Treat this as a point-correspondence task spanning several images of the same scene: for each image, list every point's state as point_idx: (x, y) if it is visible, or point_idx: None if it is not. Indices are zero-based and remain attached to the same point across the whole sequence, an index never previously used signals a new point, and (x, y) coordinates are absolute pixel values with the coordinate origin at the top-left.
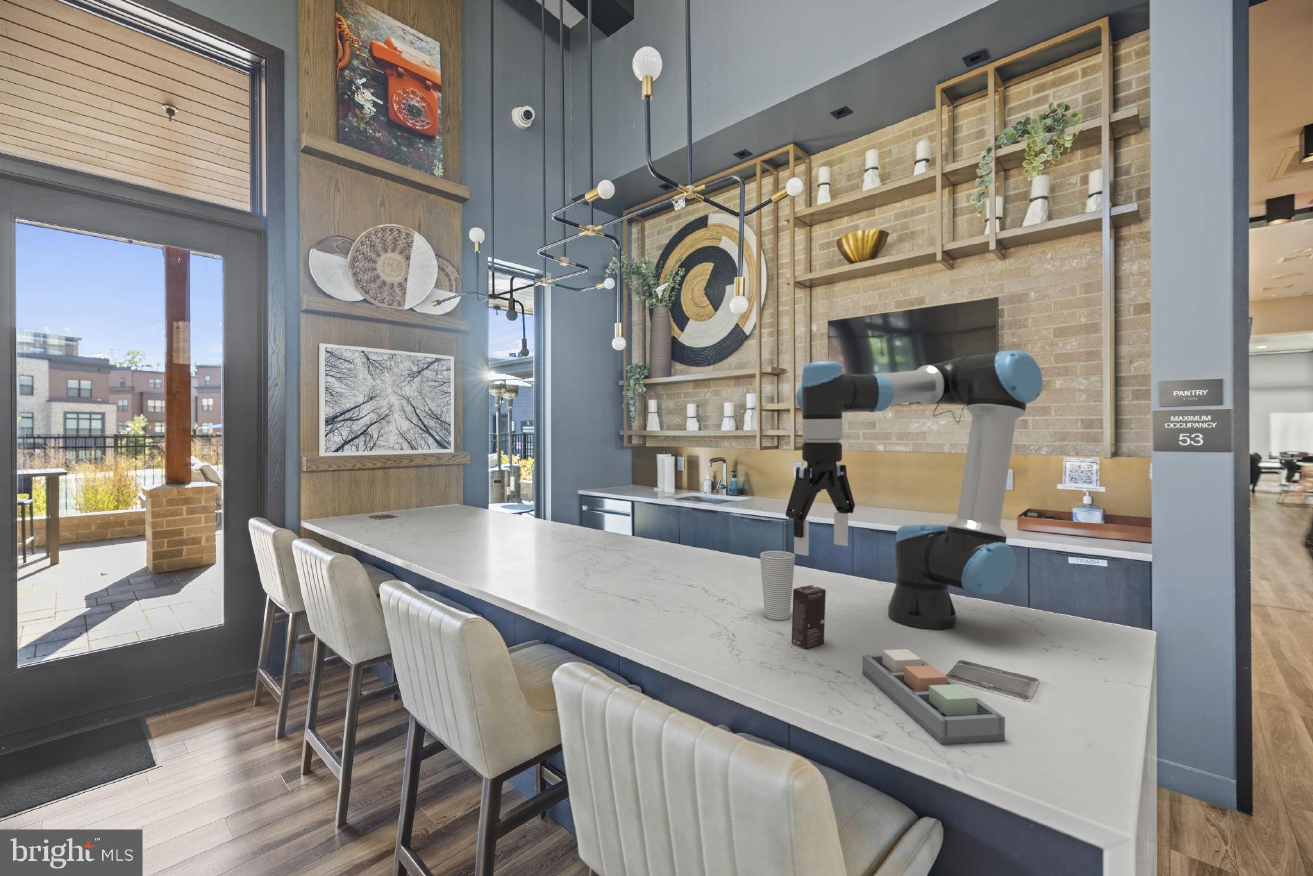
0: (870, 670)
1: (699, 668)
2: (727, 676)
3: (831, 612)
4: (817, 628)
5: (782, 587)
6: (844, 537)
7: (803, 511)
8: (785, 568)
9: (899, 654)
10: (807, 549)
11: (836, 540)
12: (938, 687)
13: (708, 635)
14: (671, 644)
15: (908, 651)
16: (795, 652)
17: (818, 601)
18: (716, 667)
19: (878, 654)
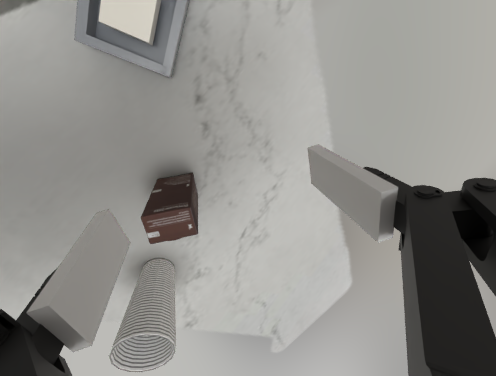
0: (176, 51)
1: None
2: None
3: None
4: (169, 185)
5: (156, 291)
6: (102, 230)
7: (449, 214)
8: (147, 316)
9: (132, 9)
10: (321, 150)
11: (122, 244)
12: None
13: (267, 240)
14: (312, 230)
15: (103, 11)
16: (210, 170)
17: (163, 204)
18: None
19: (142, 66)
